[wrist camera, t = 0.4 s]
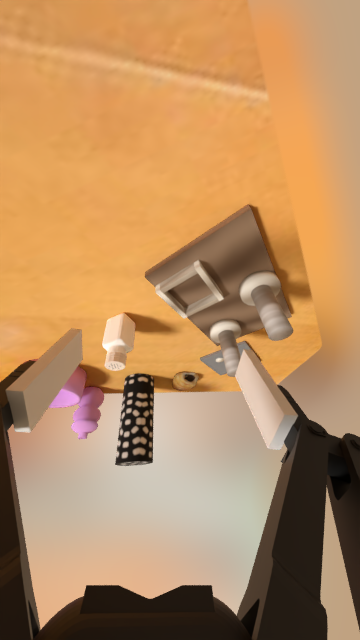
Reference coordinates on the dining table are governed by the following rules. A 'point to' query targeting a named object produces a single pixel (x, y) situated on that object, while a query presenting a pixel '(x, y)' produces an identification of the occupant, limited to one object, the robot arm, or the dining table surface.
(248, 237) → the pin board
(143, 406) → the spotted tube
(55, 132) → the dining table surface
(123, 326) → the pepper shaker
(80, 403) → the container set
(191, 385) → the pastry
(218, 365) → the tile
